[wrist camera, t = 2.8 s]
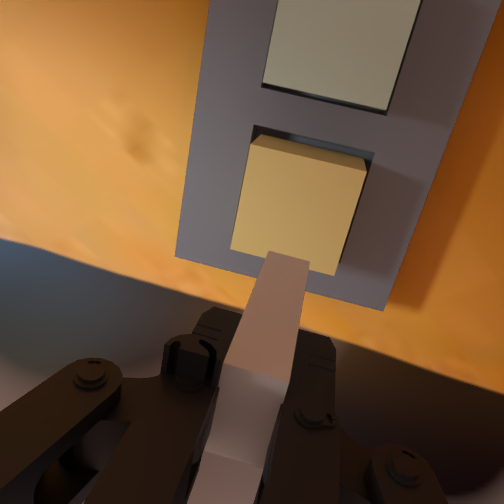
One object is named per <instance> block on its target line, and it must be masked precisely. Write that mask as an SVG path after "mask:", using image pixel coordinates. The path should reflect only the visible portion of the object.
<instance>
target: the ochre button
mask: <svg viewBox="0 0 504 504" xmlns="http://www.w3.org/2000/svg"><path fill="white" fill-rule="evenodd" d="M366 173H367V171H366V167H365V163H364V159H363V158H361V157H357V156H352V155H348V154H344V153H340V152H335V151H331V150H327V149H323V148H318V147H314V146H310V145H306V144H301V143H297V142H293V141H289V140H284V139H280V138H276V137H272V136H267V135H263V134H261V135H260V136H259V137H258V138H257V139H255V140H254V141H253V142H252V143H251V144H250V149H249V154H248V160H247V165H246V170H245V175H244V180H243V185H242V190H241V196H240V201H239V206H238V211H237V216H236V221H235V226H234V231H233V237H232V242H231V247H230V249H232V250H235V251H239V252H243V253H247V254H251V255H255V256H259V257H262V258H266V256H267V254H268V251H272V252H276V253H280V254H284V255H288V256H291V257H295V258H299V259H303V260H307V261H310V265H309V270H313V271H316V272H320V273H324V274H328V275H332V276H334V275H335V272H336V268H337V265H338V262H339V259H340V256H341V252H342V249H343V246H344V243H345V240H346V236H347V233H348V230H349V227H350V224H351V221H352V217H353V214H354V211H355V208H356V205H357V201H358V198H359V195H360V192H361V189H362V185H363V182H364V179H365V176H366Z"/></svg>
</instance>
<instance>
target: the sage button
mask: <svg viewBox="0 0 504 504" xmlns="http://www.w3.org/2000/svg"><path fill="white" fill-rule="evenodd" d="M420 1H421V0H279V1H278V6H277V11H276V16H275V21H274V26H273V31H272V36H271V42H270V47H269V52H268V57H267V62H266V67H265V72H264V78H263V83H268V84H272V85H277V86H281V87H285V88H290V89H294V90H299V91H303V92H308V93H312V94H316V95H321V96H325V97H330V98H334V99H339V100H343V101H347V102H352V103H356V104H361V105H365V106H370V107H374V108H379V109H383V110H386V109H387V106H388V103H389V99H390V96H391V93H392V90H393V87H394V83H395V80H396V77H397V74H398V71H399V67H400V64H401V61H402V58H403V55H404V52H405V48H406V45H407V42H408V39H409V36H410V32H411V29H412V26H413V23H414V20H415V16H416V13H417V10H418V7H419V4H420Z"/></svg>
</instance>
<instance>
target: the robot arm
mask: <svg viewBox="0 0 504 504" xmlns="http://www.w3.org/2000/svg"><path fill="white" fill-rule="evenodd" d="M309 265H310V261H307V260H303V259H299V258H295V257H291V256H288V255H284V254H280V253H276V252H272V251H268V254H267V256H266V259H265V261H264V264H263V266H262V268H261V271H260V273H259V276H258V278H257V281H256V283H255V286H254V288H253V291H252V293H251V296H250V298H249V301H248V303H247V305H246V308H245V310H244V313H243V315H242V314H239V313H235V312H232V311H228V310H224V309H221V308H217V307H213V308H211V309H209V310H208V311H206V312H204V313H203V314H202V315H201V317H200V319H199V321H198V322H197V325H196V326H195V328H194V330H193V331H192V334H187V335H186V334H185V335H179V336H176V337H173V338H171V339H170V340H169V341H168V342H166V343H165V345H164V352H163V360H162V367H161V373H160V375H158V376H155V377H150V378H123V377H122V373H121V371H120V368H119V367H118V366H117V365H115V364H114V363H113V362H111V361H108V360H105V359H102V358H86V359H81V360H77V361H75V362H73V363H71V364H69V365H67V366H66V367H64V368H63V369H62V370H60V371H58V372H57V373H55V374H54V375H52V376H51V377H50V378H48V379H47V380H45V381H44V382H42V383H41V384H39V385H38V386H37V387H35V388H34V389H32V390H31V391H29V392H28V393H27V394H25V395H24V396H22V397H21V398H19V399H18V400H16V401H15V402H13V403H12V404H11V405H9V406H8V407H6V408H5V409H3V410H2V411H0V504H82V503H83V502H84V501H85V502H84V504H187V501H188V499H189V496H190V493H191V490H192V487H193V485H194V482H195V479H196V476H197V473H198V470H199V466H200V462H201V457H202V453H203V450H204V448H205V451H207V452H210V453H214V454H217V455H220V456H224V457H227V458H230V459H233V460H236V461H240V462H243V463H246V464H249V465H252V466H256V467H259V468H263V474H262V477H261V480H260V484H259V487H258V490H257V493H256V497H255V500H254V503H253V504H448V502H447V499H446V497H445V495H444V493H443V491H442V489H441V487H440V485H439V483H438V480H437V478H436V476H435V474H434V473H433V471H432V469H431V468H430V466H429V465H428V463H427V462H426V461H425V460H424V459H422V458H421V457H420V456H419V455H418V454H417V453H415V452H414V451H412V450H410V449H408V448H406V447H404V446H401V445H396V444H382V445H380V446H379V447H377V448H375V450H374V451H373V450H371V449H370V448H368V447H366V446H364V445H363V444H361V443H359V442H358V441H356V440H355V439H353V438H352V437H350V436H349V435H348V434H347V433H346V432H345V431H344V430H343V429H342V427H341V426H340V423H339V419H338V416H337V415H336V414H335V410H334V409H335V406H334V405H335V371H336V364H335V362H336V349H335V347H334V345H333V343H332V341H331V340H330V338H329V337H326V336H323V335H319V334H315V333H311V332H308V331H304V330H301V329H299V323H300V317H301V311H302V305H303V300H304V294H305V288H306V282H307V276H308V270H309Z"/></svg>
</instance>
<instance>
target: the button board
mask: <svg viewBox="0 0 504 504" xmlns="http://www.w3.org/2000/svg"><path fill="white" fill-rule="evenodd" d="M278 1H279V0H210V3H209V10H208V18H207V25H206V32H205V40H204V47H203V54H202V61H201V69H200V76H199V83H198V90H197V98H196V105H195V112H194V119H193V127H192V134H191V141H190V149H189V156H188V163H187V170H186V178H185V185H184V192H183V199H182V207H181V214H180V221H179V229H178V236H177V243H176V250H175V257H178V258H182V259H186V260H189V261H193V262H197V263H201V264H205V265H208V266H212V267H216V268H220V269H224V270H227V271H231V272H235V273H239V274H243V275H246V276H250V277H254V278H258V276H259V273H260V271H261V268H262V266H263V264H264V261H265V259H266V258H262V257H259V256H255V255H251V254H247V253H243V252H239V251H235V250H232V249H230V247H231V242H232V237H233V231H234V226H235V221H236V216H237V211H238V206H239V201H240V196H241V190H242V185H243V180H244V175H245V170H246V165H247V160H248V154H249V149H250V144H251V143H252V142H253V141H254V140H255V139H257V138H258V137H259V136H260V135H261V134H263V135H267V136H272V137H276V138H280V139H284V140H289V141H293V142H297V143H301V144H306V145H310V146H314V147H318V148H323V149H327V150H331V151H335V152H340V153H344V154H348V155H352V156H357V157H361V158H363V159H364V163H365V167H366V171H367V173H366V176H365V179H364V182H363V185H362V189H361V192H360V195H359V198H358V201H357V205H356V208H355V211H354V214H353V217H352V221H351V224H350V227H349V230H348V233H347V236H346V240H345V243H344V246H343V249H342V252H341V256H340V259H339V262H338V265H337V268H336V272H335V275H334V276H332V275H328V274H324V273H320V272H316V271H313V270H308V276H307V282H306V288H305V291H307V292H311V293H315V294H319V295H322V296H326V297H330V298H334V299H338V300H341V301H345V302H349V303H353V304H357V305H360V306H364V307H368V308H372V309H376V310H379V311H384V308H385V305H386V303H387V300H388V298H389V295H390V292H391V290H392V287H393V284H394V282H395V279H396V277H397V274H398V271H399V269H400V266H401V263H402V261H403V258H404V256H405V253H406V250H407V248H408V245H409V242H410V240H411V237H412V235H413V232H414V229H415V227H416V224H417V222H418V219H419V216H420V214H421V211H422V208H423V206H424V203H425V201H426V198H427V195H428V193H429V190H430V187H431V185H432V182H433V180H434V177H435V174H436V172H437V169H438V166H439V164H440V161H441V159H442V156H443V153H444V151H445V148H446V146H447V143H448V140H449V138H450V135H451V132H452V130H453V127H454V125H455V122H456V119H457V117H458V114H459V111H460V109H461V106H462V104H463V101H464V98H465V96H466V93H467V90H468V88H469V85H470V83H471V80H472V77H473V75H474V72H475V70H476V67H477V64H478V62H479V59H480V56H481V54H482V51H483V49H484V46H485V43H486V41H487V38H488V35H489V33H490V30H491V28H492V25H493V22H494V20H495V17H496V14H497V12H498V9H499V7H500V4H501V1H502V0H421V1H420V4H419V7H418V10H417V13H416V16H415V20H414V23H413V26H412V29H411V32H410V36H409V39H408V42H407V45H406V48H405V52H404V55H403V58H402V61H401V64H400V67H399V71H398V74H397V77H396V80H395V83H394V87H393V90H392V93H391V96H390V99H389V103H388V106H387V109H386V110H383V109H379V108H374V107H370V106H365V105H361V104H356V103H352V102H347V101H343V100H339V99H334V98H330V97H325V96H321V95H316V94H312V93H308V92H303V91H299V90H294V89H290V88H285V87H281V86H277V85H272V84H268V83H263V78H264V72H265V67H266V62H267V57H268V52H269V47H270V42H271V36H272V31H273V26H274V21H275V16H276V11H277V6H278Z"/></svg>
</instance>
